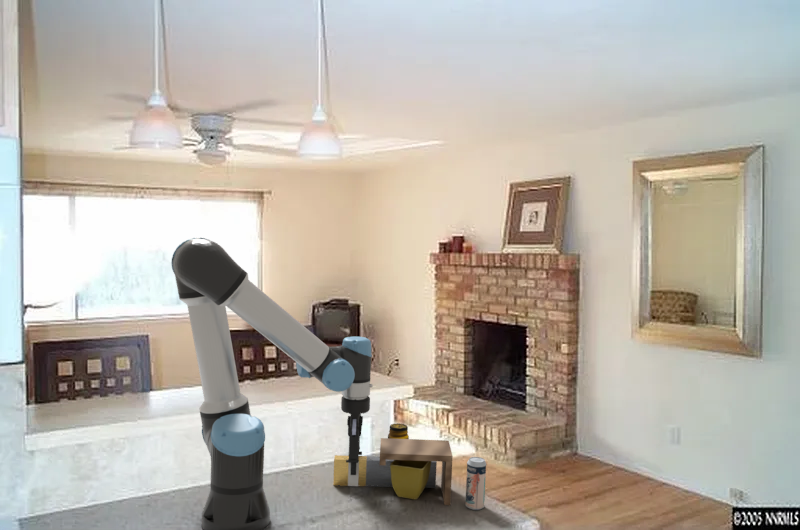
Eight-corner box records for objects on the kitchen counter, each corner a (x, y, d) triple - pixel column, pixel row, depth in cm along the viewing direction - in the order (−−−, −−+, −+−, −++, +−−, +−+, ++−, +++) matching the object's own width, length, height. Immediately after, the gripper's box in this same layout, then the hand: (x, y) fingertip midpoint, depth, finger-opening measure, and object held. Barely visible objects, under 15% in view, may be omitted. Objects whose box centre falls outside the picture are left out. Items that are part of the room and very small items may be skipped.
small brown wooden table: (378, 502, 166) (379, 453, 165) (379, 484, 178) (380, 438, 177) (450, 505, 166) (452, 455, 165) (446, 486, 178) (448, 440, 177)
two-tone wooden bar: (333, 485, 176) (334, 459, 175) (334, 480, 179) (334, 455, 178) (435, 487, 177) (436, 462, 176) (434, 483, 180) (435, 457, 179)
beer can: (461, 504, 166) (463, 457, 166) (477, 502, 168) (480, 455, 168) (471, 512, 162) (473, 463, 161) (488, 509, 164) (490, 461, 163)
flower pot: (421, 504, 165) (423, 469, 165) (388, 499, 168) (389, 464, 168) (430, 491, 174) (432, 457, 173) (398, 486, 176) (400, 453, 176)
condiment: (413, 468, 190) (415, 427, 190) (388, 473, 186) (390, 431, 185) (399, 460, 196) (401, 420, 196) (374, 465, 192) (376, 424, 191)
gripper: (369, 405, 167) (366, 495, 169) (370, 388, 184) (368, 471, 185) (339, 404, 167) (337, 495, 169) (343, 387, 183) (341, 470, 185)
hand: (353, 482), depth 177 cm, fingers closed on two-tone wooden bar, 3 cm apart
